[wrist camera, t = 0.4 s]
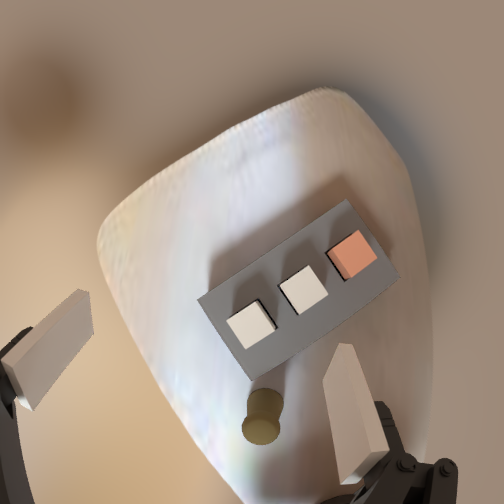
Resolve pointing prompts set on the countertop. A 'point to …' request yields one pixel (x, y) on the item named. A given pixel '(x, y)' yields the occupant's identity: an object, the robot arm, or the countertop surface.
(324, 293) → the cream white cube
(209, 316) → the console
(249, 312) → the cream square button
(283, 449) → the countertop surface
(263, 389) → the cork
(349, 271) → the terracotta button
